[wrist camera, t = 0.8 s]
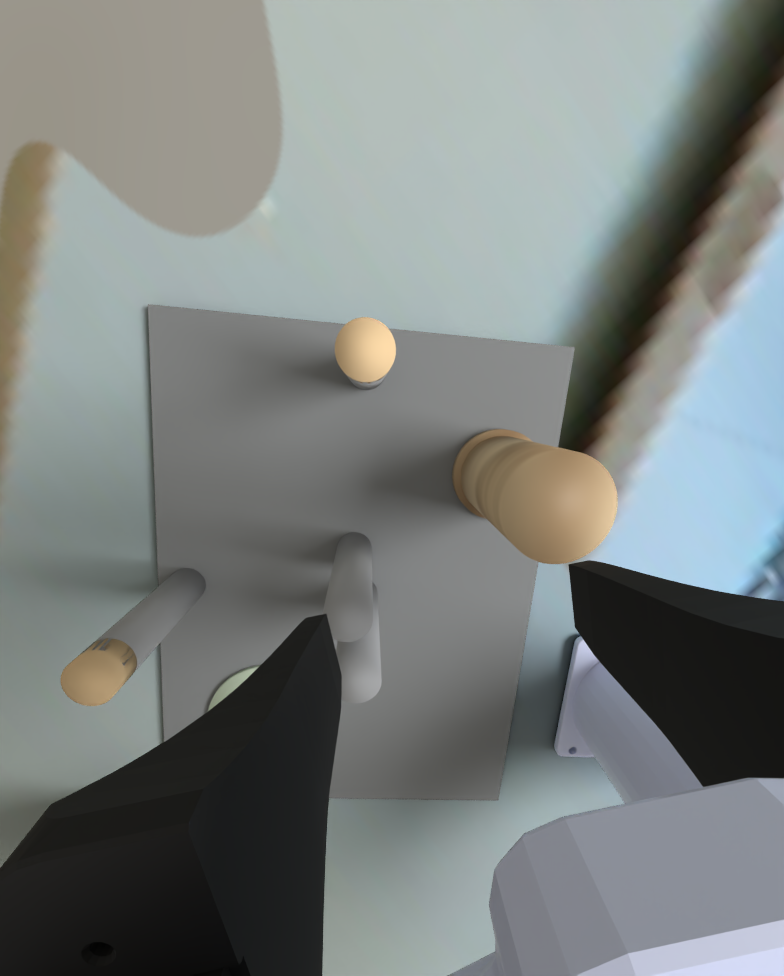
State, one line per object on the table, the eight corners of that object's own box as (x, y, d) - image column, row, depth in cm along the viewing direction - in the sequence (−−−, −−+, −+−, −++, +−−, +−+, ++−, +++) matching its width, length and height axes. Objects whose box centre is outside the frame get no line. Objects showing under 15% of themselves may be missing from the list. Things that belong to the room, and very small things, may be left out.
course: (570, 348, 20) (700, 312, 12) (496, 794, 25) (552, 966, 17) (152, 306, 18) (-6, 235, 11) (169, 789, 24) (73, 975, 16)
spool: (546, 432, 20) (638, 447, 13) (532, 519, 21) (611, 575, 14) (457, 425, 20) (504, 436, 13) (447, 514, 21) (486, 568, 14)
